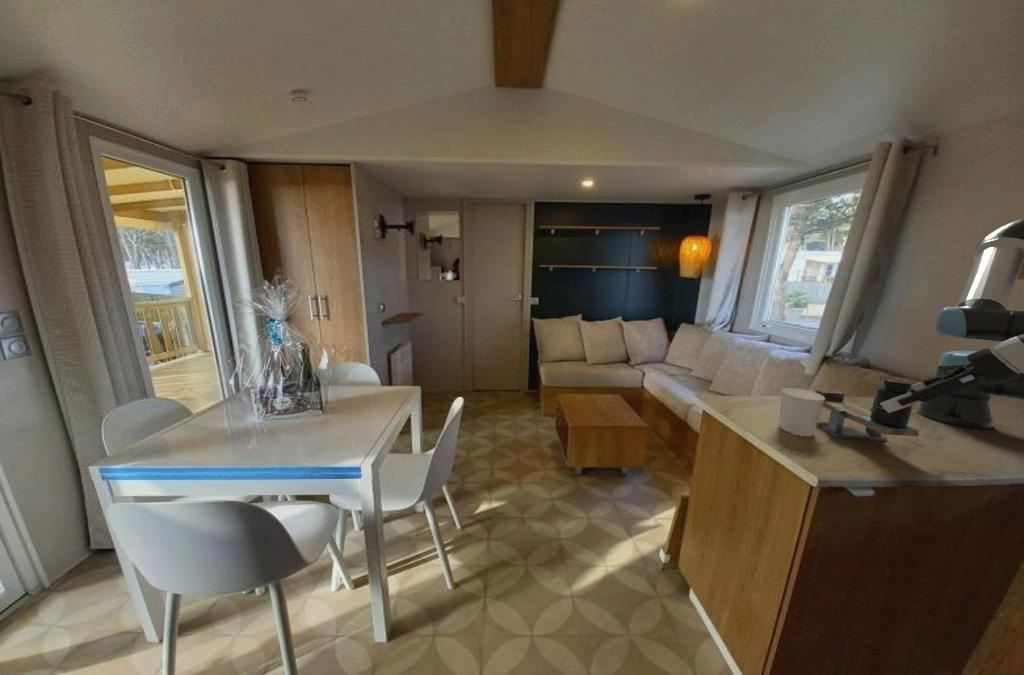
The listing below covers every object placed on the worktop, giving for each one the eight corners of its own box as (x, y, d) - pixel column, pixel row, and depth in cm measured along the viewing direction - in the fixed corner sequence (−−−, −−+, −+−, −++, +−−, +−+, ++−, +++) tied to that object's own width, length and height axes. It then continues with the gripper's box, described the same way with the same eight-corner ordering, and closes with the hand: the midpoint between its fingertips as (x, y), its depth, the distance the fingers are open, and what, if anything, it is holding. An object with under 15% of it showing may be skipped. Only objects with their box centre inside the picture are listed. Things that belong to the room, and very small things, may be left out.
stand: (867, 431, 102) (873, 407, 101) (886, 441, 97) (893, 415, 95) (821, 428, 104) (826, 404, 102) (837, 438, 98) (843, 412, 96)
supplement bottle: (870, 423, 90) (879, 380, 88) (868, 416, 95) (876, 375, 93) (909, 431, 85) (920, 386, 83) (905, 423, 90) (914, 380, 88)
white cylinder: (817, 430, 103) (825, 393, 101) (816, 441, 96) (825, 402, 94) (777, 420, 110) (783, 385, 107) (774, 430, 102) (780, 393, 100)
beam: (837, 403, 111) (839, 390, 110) (918, 438, 87) (922, 421, 86) (809, 402, 112) (811, 389, 111) (881, 436, 87) (885, 419, 87)
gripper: (1022, 386, 66) (892, 427, 81) (1024, 366, 79) (912, 405, 94) (984, 354, 69) (866, 399, 84) (992, 341, 82) (888, 382, 98)
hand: (890, 402), depth 89 cm, fingers open, 13 cm apart
